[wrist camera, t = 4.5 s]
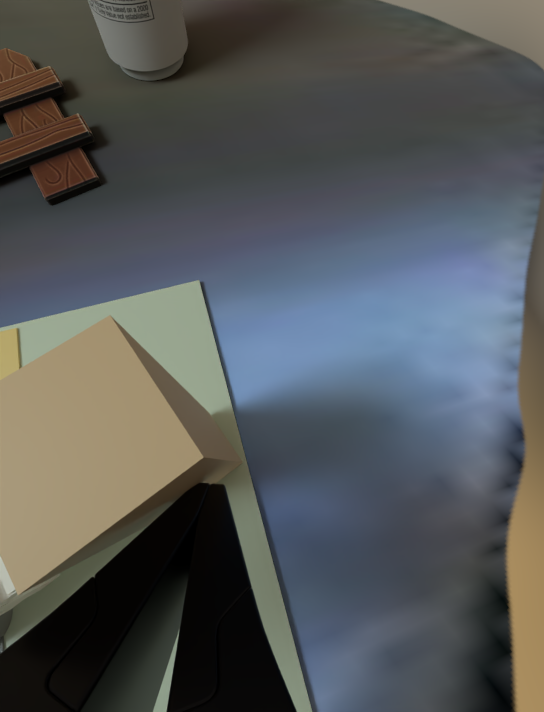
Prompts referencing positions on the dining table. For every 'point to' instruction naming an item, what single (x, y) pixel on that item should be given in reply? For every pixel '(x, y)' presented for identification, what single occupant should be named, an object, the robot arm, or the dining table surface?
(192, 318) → the mat
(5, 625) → the fixed fence
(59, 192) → the decorative fence
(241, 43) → the dining table surface
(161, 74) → the energy drink can
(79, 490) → the gate
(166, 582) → the robot arm
